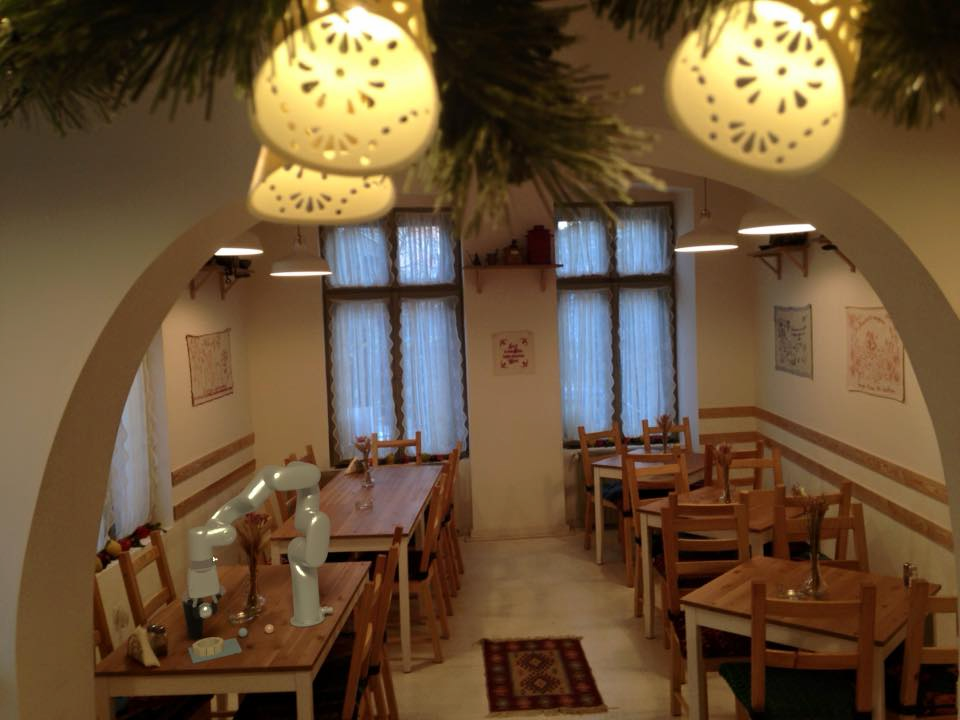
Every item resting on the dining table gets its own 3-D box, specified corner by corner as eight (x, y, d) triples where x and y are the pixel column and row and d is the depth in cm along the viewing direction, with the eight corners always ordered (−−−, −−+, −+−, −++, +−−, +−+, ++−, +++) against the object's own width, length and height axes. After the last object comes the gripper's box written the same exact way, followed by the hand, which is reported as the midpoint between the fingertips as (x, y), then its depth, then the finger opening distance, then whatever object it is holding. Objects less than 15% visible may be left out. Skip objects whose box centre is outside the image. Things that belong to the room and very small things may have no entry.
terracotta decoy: (273, 630, 302) (272, 622, 302) (275, 633, 300) (274, 625, 299) (264, 632, 301) (263, 624, 301) (266, 635, 298) (265, 626, 298)
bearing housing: (235, 640, 295) (234, 631, 295) (241, 652, 284) (240, 642, 284) (188, 650, 288) (187, 641, 288) (192, 663, 277) (192, 653, 277)
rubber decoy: (246, 634, 300) (246, 625, 300) (248, 637, 297) (247, 628, 297) (237, 636, 299) (237, 627, 299) (239, 639, 296) (238, 630, 296)
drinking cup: (188, 643, 295) (184, 588, 294) (182, 637, 302) (177, 583, 300) (209, 637, 300) (205, 582, 299) (203, 631, 306) (198, 578, 305)
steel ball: (212, 614, 288) (211, 599, 288) (214, 618, 283) (213, 604, 283) (197, 617, 286) (196, 602, 285) (199, 621, 281) (198, 607, 281)
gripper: (225, 556, 291) (229, 607, 292) (174, 565, 283) (178, 617, 284) (229, 561, 284) (232, 613, 285) (176, 570, 276) (180, 624, 277)
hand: (205, 615), depth 284 cm, fingers closed on steel ball, 5 cm apart
